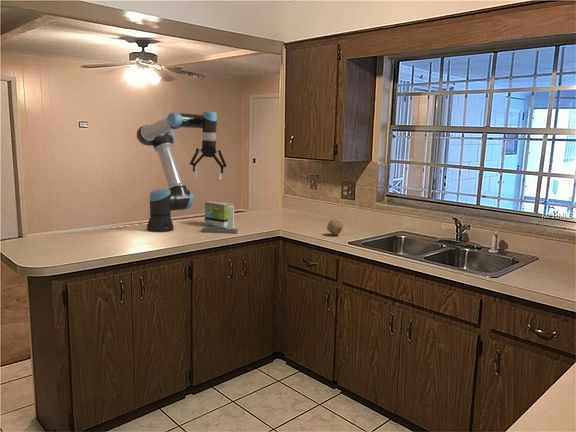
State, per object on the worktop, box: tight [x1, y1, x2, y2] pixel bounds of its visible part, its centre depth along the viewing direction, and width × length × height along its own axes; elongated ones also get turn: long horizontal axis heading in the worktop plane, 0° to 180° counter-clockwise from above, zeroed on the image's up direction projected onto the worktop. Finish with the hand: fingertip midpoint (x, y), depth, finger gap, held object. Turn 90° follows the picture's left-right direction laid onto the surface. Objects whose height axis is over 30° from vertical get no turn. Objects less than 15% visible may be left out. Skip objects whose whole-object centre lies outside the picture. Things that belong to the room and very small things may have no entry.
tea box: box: [204, 200, 234, 228], centre depth 293 cm, size 15×10×15 cm, turn 62°
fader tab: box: [226, 205, 236, 229], centre depth 272 cm, size 5×4×13 cm
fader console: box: [201, 226, 239, 235], centre depth 274 cm, size 20×6×2 cm, turn 89°
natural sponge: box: [326, 218, 344, 236], centre depth 276 cm, size 9×9×10 cm
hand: (207, 178), depth 262 cm, fingers open, 13 cm apart
